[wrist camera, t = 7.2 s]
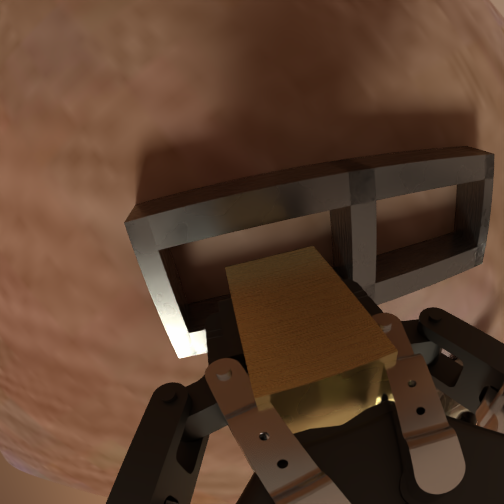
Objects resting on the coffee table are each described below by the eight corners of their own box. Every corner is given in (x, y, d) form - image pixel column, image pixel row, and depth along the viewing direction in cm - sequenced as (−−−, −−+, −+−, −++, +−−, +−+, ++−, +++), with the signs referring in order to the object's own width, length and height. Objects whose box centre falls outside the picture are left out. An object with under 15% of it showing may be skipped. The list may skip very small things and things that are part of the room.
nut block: (313, 245, 13) (398, 350, 7) (318, 314, 15) (379, 422, 9) (224, 267, 13) (254, 398, 7) (242, 335, 15) (274, 458, 9)
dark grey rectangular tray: (466, 146, 18) (494, 153, 15) (460, 248, 22) (482, 263, 19) (135, 204, 16) (124, 222, 14) (179, 328, 20) (178, 358, 18)
